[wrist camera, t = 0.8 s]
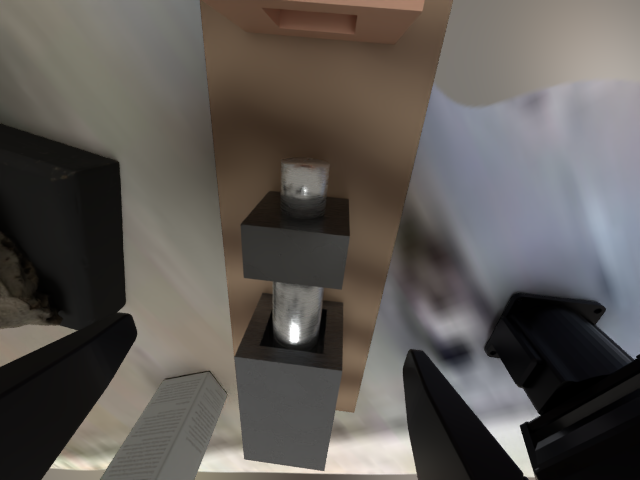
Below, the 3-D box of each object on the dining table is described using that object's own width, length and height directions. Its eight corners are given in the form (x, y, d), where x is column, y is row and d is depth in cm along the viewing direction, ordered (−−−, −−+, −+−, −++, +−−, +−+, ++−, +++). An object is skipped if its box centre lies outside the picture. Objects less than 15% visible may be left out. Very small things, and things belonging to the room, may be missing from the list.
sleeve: (328, 396, 26) (324, 471, 21) (264, 388, 27) (244, 459, 21) (343, 302, 21) (342, 371, 16) (262, 292, 21) (234, 356, 16)
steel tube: (322, 386, 25) (317, 450, 21) (270, 379, 25) (253, 441, 21) (354, 157, 15) (358, 181, 11) (269, 149, 16) (237, 168, 11)
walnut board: (353, 402, 28) (354, 412, 27) (241, 387, 29) (238, 396, 28) (464, -71, 12) (473, -85, 11) (201, -88, 12) (189, -103, 12)
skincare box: (184, 402, 31) (100, 559, 20) (163, 378, 29) (58, 536, 18) (230, 395, 29) (165, 560, 19) (210, 369, 28) (126, 535, 17)
